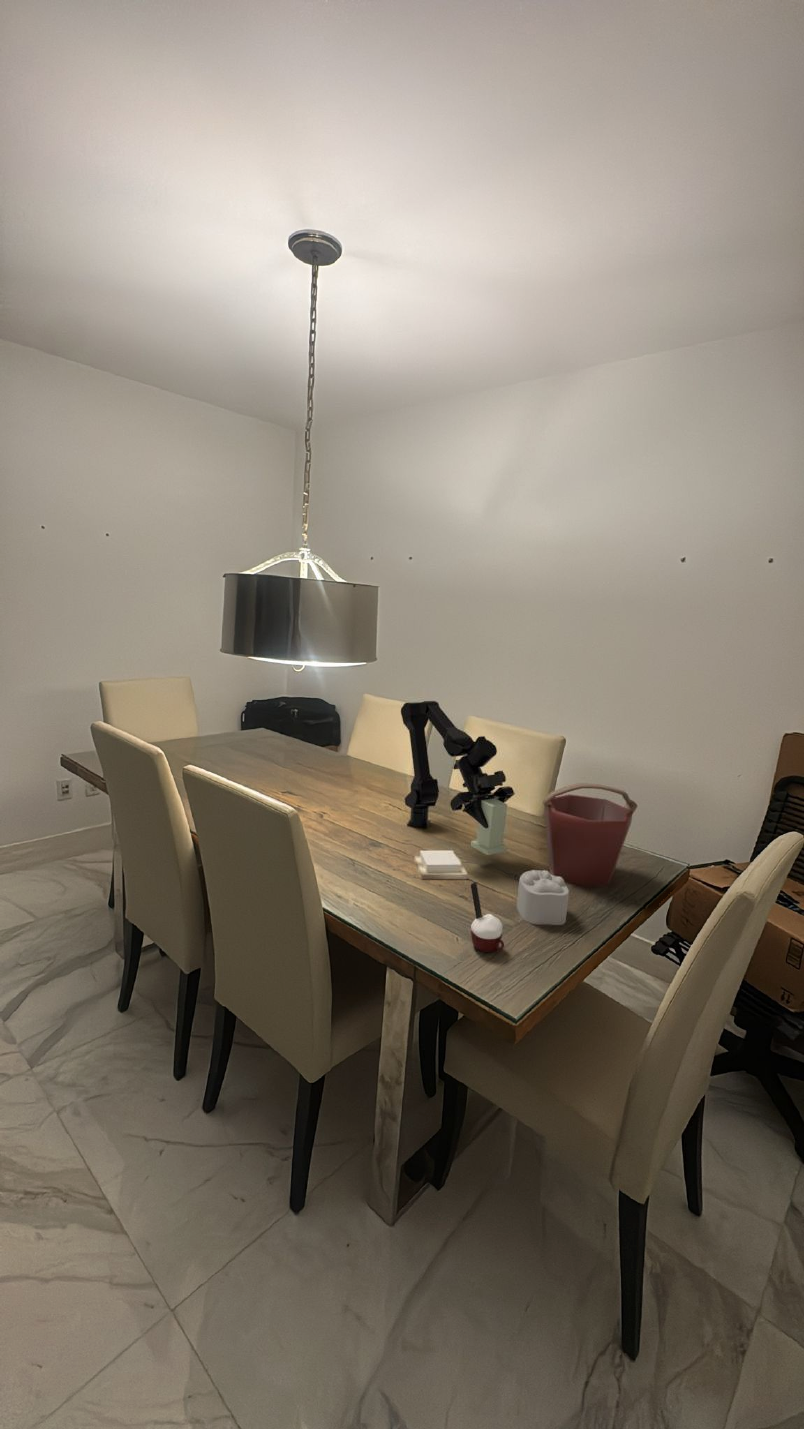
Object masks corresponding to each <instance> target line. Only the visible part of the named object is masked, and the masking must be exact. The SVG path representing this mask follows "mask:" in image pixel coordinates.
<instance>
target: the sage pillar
mask: <svg viewBox="0 0 804 1429" xmlns="http://www.w3.org/2000/svg"><path fill="white" fill-rule="evenodd" d="M481 808H482V810H483V813H484V815H485V818H486V820H487V823H488V828H484V827H483V826H482V825H481V824H480V823H479V822H478V823H477V834H476V840H471V842H470V846H471V847H472V848H475V849H476V850H478V851H480V852H481V853H483V854H484V855H486V856H490V855H495V854H500V853H507V852H508V849H509V846H508V845H505V844H504V836H505V830H506V829H505V828H506V818H507V809H508V804H507V803H506V802H505V803H503V802H501V801H499V800H497V799H489V800H482V801H481Z"/></svg>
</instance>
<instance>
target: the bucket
mask: <svg viewBox="0 0 804 1429" xmlns="http://www.w3.org/2000/svg"><path fill="white" fill-rule="evenodd" d="M581 789H596V790H603V791H607V792H608V791H609V792H612V793H615V794H618V795H621V797H622V798H623V800H624V801H625V805H624V806H622V805H619V804H617V803H616V802H613V801H610V800H609V799H606V798H598V797H589V796H584V795H576V794H570V792H573V791H577V790H581ZM566 793H569V794H566ZM564 794H565V795H564ZM542 804H543V806H544V820H545V821H544V822H545V832H546V842H547V844H546V846H547V856H548V858H547V859H548V866H549V868H550V870H551V873H552V875H554V876H557V877H558V876H559V877H562V878H563V880H564V882H567V883H571V884H573V885H576V886H578V887H582V888H583V887H608V885H609V884H610V881H611V880H612V877H613V875H614V872H615V870H616V867H617V863H618V861H619V859H620V855H621V853H622V850H623V847H624V843H625V841H626V839H627V835H628V832H629V829H630V828H631V827H630V826H631V824H632V820H633V814H634V813H635V812H636V809H637V808H638V804H637V803H636V802H635V801H634V800H633V799H631V798H630V797H629V794H628V793H627V792H626V791H625V790H622V789H619V788H617V787H616V788H615V787H612V786H607V785H603V784H597V783H587V782H586V783H581V782H580V783H578V782H577V783H574V784H571V785H568V786H563V787H560V788H559V789H555V790H552V791H551V792H549V793H548V794H547V795H546V796H544V798H543V799H542Z"/></svg>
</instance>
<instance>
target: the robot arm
mask: <svg viewBox="0 0 804 1429" xmlns="http://www.w3.org/2000/svg"><path fill="white" fill-rule="evenodd" d="M400 708H401V709H400V714H401V719H402V723H403V725H404V726H405V727H406V728H407V730H408V732H409V740H410V749H411V759H412V765H413V775H414V776H413V779H412V781H411V784H410V792H409V793H408V794H407V795H406V796H405V798H404V804H405V806H407V807H408V808H409V809H410V816H409V818H410V819H409V820H408V822H407V823H406V826H408V827H415V828H421V829H422V828H423V829H428V827H429V825H430V824H431V820H429V812H430V811H429V810H430V807H435V806H436V804H437V801H438V798H439V793H440V789H439V785H438V784H439V783H438V779H437V778H433V776H432V775H431V770H430V763H429V762H430V761H429V754H428V746H427V745H428V744H427V739H426V738H427V737H426V730H425V729H426V726H427V724H428V722H429V723H431V725H432V726H433V727H434V728H435V730H436V731H437V733H438V734H439V735H440V737H441V738H442V739H443V742H442V743H443V744H442V745H443V747H444V749H445V751H446V752H447V754H448V756H450V757H452V758H453V757H460V758H459V759H455V760H454V761H455V762H454V764H453V766H452V767H453V770H454V771H455V770H459V772H460V775H461V778H462V780H463V783H462V788H466V790H467V791H462V792H458V793H457V794H456V795H454V797H452V799H451V800H450V802H449V805H450V808H451V811H454V812H455V811H461V810H462V812H463V813H466V814H468V815H469V816H471V817H472V818H473V819H474V820H475V821H476V822H478V823H480V824H481V825H482V826H483V827H484V828H488V823H487V820H486V818H485V815H484V813H483V810H482V808H481V801H482V800H489V799H497V800H499V801H501V802H503V803H505V804H506V802H507V801H508V800H510V799H511V798H512V797H513V796H515V794H516V793H515V791H514V790H513V787H512V786H509V785H508V786H507V785H506V786H503V783H505V782H506V781H507V777H506V774H505V772H504V771H503V770H498V771H494V772H493V774H488V773H487V772H483V771H482V767H485V766H486V765H487V764H488V763H490V761H491V760H492V759H493V758H495V757H496V756H497V753H498V749H497V746H496V745H495V744H494V743H493V742H492V741H491V740H489V739H487V738H486V736H485V735H480V736H478V737H477V738H476V739H475V741H474V740H473V738H472V737H471V736H470V735H469V734H468V733H467V732H466V731H463V730H462V729H459V728H457V726H455V724H454V723H453V722H452V720H451V719H450V718H449V717H448V715H446V713H445V712H444V711H443V709H442V708H441V706H440V704H439V702H438V701H436V700H424V701H421V702H420V701H419V702H415V701H414V702H405V703H403V705H402V706H401V707H400ZM498 786H500V787H499V788H497V789H496V787H498ZM495 789H496V790H495ZM492 791H494V792H492ZM463 807H464V808H463Z"/></svg>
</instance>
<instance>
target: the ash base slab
mask: <svg viewBox="0 0 804 1429" xmlns="http://www.w3.org/2000/svg"><path fill="white" fill-rule="evenodd" d="M455 855H456V854H455ZM456 857H457V859H458V860H459V862H460V864H461V869H460V872H426V870H425V868H424V866H423V864H422V861H421V859H420V854H418V855H417V854H416V855H414V856H413V860H414V863H415V865H416V869H417V872H418V873H419V877H420V878H421V880H468V876H469V875H468V872H467V870H466V869H465V866H464V865H463V863H462V862H461V860H460V858H459V855H456Z"/></svg>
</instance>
